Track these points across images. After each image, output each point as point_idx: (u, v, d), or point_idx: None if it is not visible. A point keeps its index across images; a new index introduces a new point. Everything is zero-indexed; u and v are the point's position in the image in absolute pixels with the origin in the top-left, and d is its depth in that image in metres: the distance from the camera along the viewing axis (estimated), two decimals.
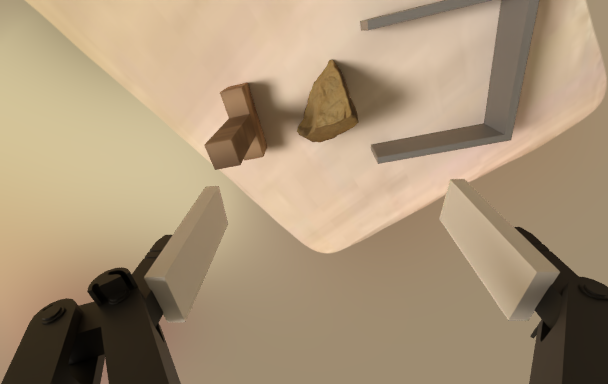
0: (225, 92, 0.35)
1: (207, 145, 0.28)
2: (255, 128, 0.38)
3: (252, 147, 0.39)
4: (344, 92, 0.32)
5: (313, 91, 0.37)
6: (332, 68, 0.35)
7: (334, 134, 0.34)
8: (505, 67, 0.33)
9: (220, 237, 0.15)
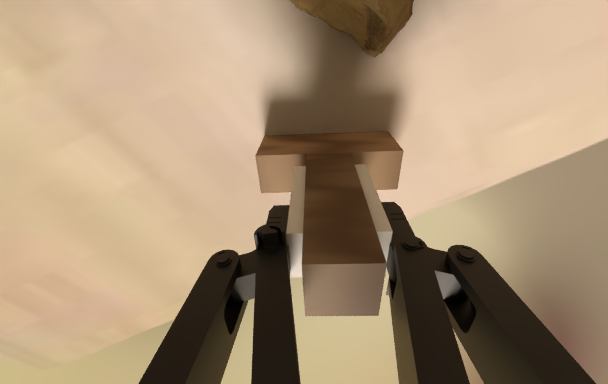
0: (261, 184, 0.19)
1: (307, 311, 0.11)
2: (339, 149, 0.18)
3: (374, 166, 0.18)
4: None
5: None
6: None
7: None
8: None
9: None
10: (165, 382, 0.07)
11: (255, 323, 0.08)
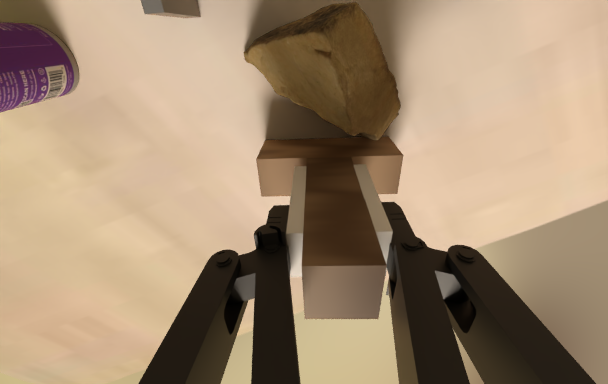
0: (262, 187, 0.19)
1: (307, 314, 0.11)
2: (340, 153, 0.18)
3: (374, 170, 0.18)
4: (276, 43, 0.12)
5: (295, 101, 0.19)
6: (250, 58, 0.17)
7: (384, 80, 0.12)
8: None
9: None
10: (165, 382, 0.07)
11: (255, 323, 0.08)
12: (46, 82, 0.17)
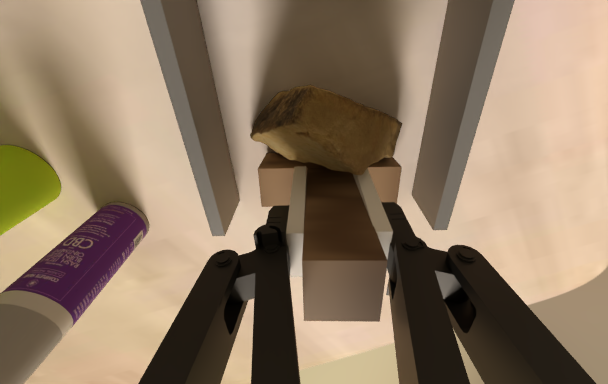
0: (262, 197, 0.20)
1: (306, 315, 0.10)
2: None
3: (373, 182, 0.19)
4: (267, 133, 0.14)
5: None
6: (256, 140, 0.19)
7: (367, 118, 0.14)
8: None
9: None
10: (165, 382, 0.07)
11: (255, 323, 0.08)
12: (133, 248, 0.25)
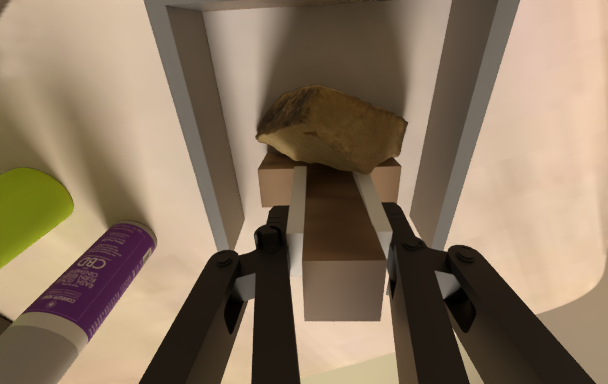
0: (262, 198, 0.20)
1: (307, 315, 0.10)
2: None
3: (373, 181, 0.19)
4: (274, 134, 0.14)
5: None
6: (261, 142, 0.19)
7: (374, 116, 0.13)
8: None
9: None
10: (165, 382, 0.07)
11: (255, 323, 0.08)
12: (142, 265, 0.26)
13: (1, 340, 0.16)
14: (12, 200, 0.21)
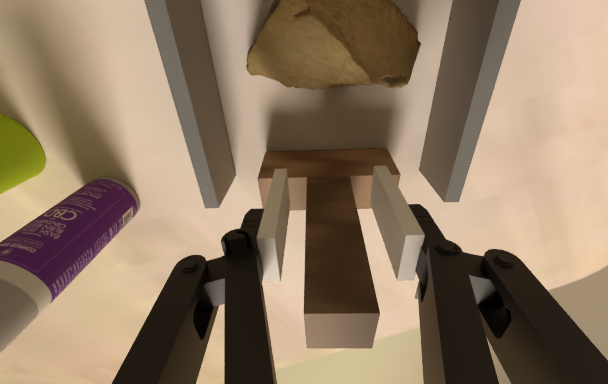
0: (264, 203, 0.20)
1: (309, 345, 0.12)
2: (339, 171, 0.19)
3: None
4: (261, 36, 0.12)
5: (310, 87, 0.18)
6: (252, 69, 0.17)
7: (382, 9, 0.11)
8: None
9: (288, 215, 0.17)
10: None
11: (226, 331, 0.08)
12: (122, 225, 0.23)
13: None
14: None
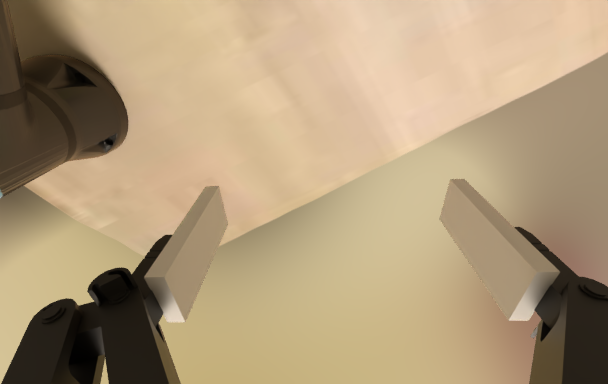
0: None
1: None
2: None
3: None
4: None
5: None
6: None
7: None
8: None
9: (220, 237, 0.15)
10: None
11: None
12: None
13: None
14: None
